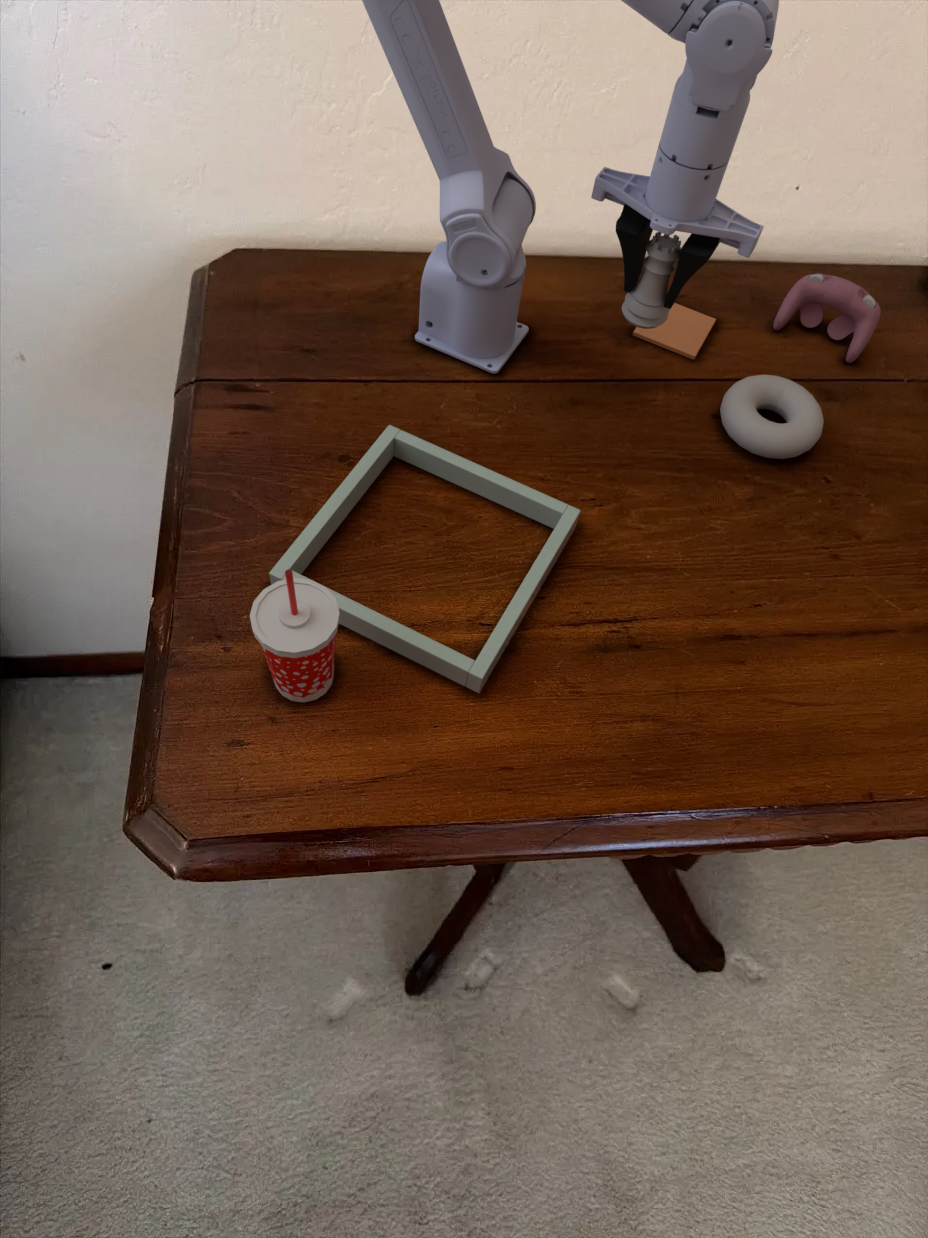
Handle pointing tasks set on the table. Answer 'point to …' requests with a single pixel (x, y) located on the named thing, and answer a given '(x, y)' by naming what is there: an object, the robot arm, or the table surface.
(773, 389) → the donut
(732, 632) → the table surface
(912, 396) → the table surface
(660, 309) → the rook chess piece
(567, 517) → the open square border
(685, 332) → the mat
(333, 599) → the beverage cup
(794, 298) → the video game controller
